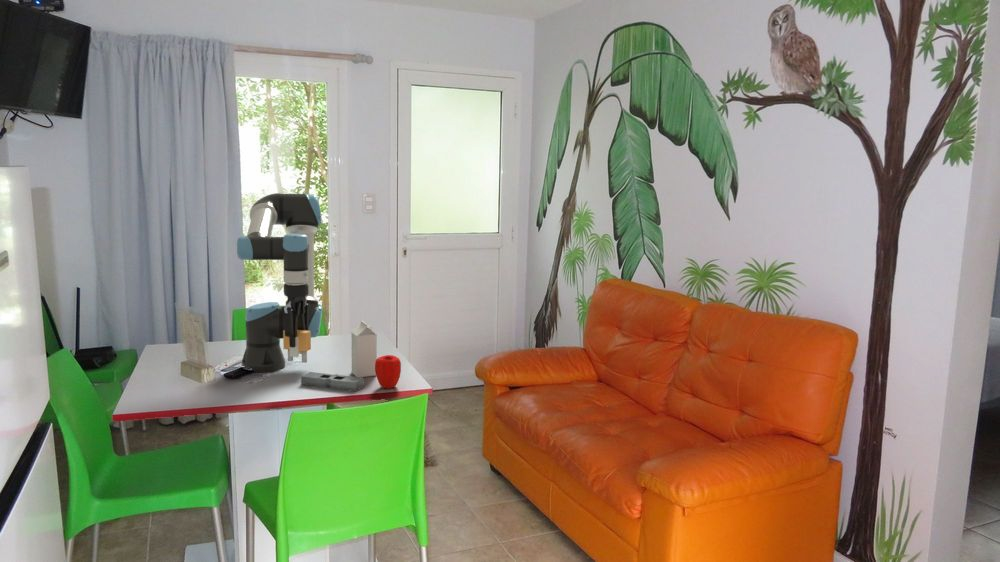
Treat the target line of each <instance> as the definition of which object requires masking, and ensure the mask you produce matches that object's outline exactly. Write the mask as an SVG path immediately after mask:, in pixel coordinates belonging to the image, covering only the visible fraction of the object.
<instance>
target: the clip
mask: <svg viewBox="0 0 1000 562" xmlns="http://www.w3.org/2000/svg"><path fill="white" fill-rule="evenodd" d="M296 337H298V349H299V351H302V354H301V363H303V364H304V363H305V364H306V363H307V362H308V351H311V349H312V341H311V339H312V338H311V331H305V330H297V336H296ZM282 340H283V350H287V361H288V362H293V361H294V357H291V356H290V342H289V337H286V336H285V330H284V331H283V339H282Z"/></svg>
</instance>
